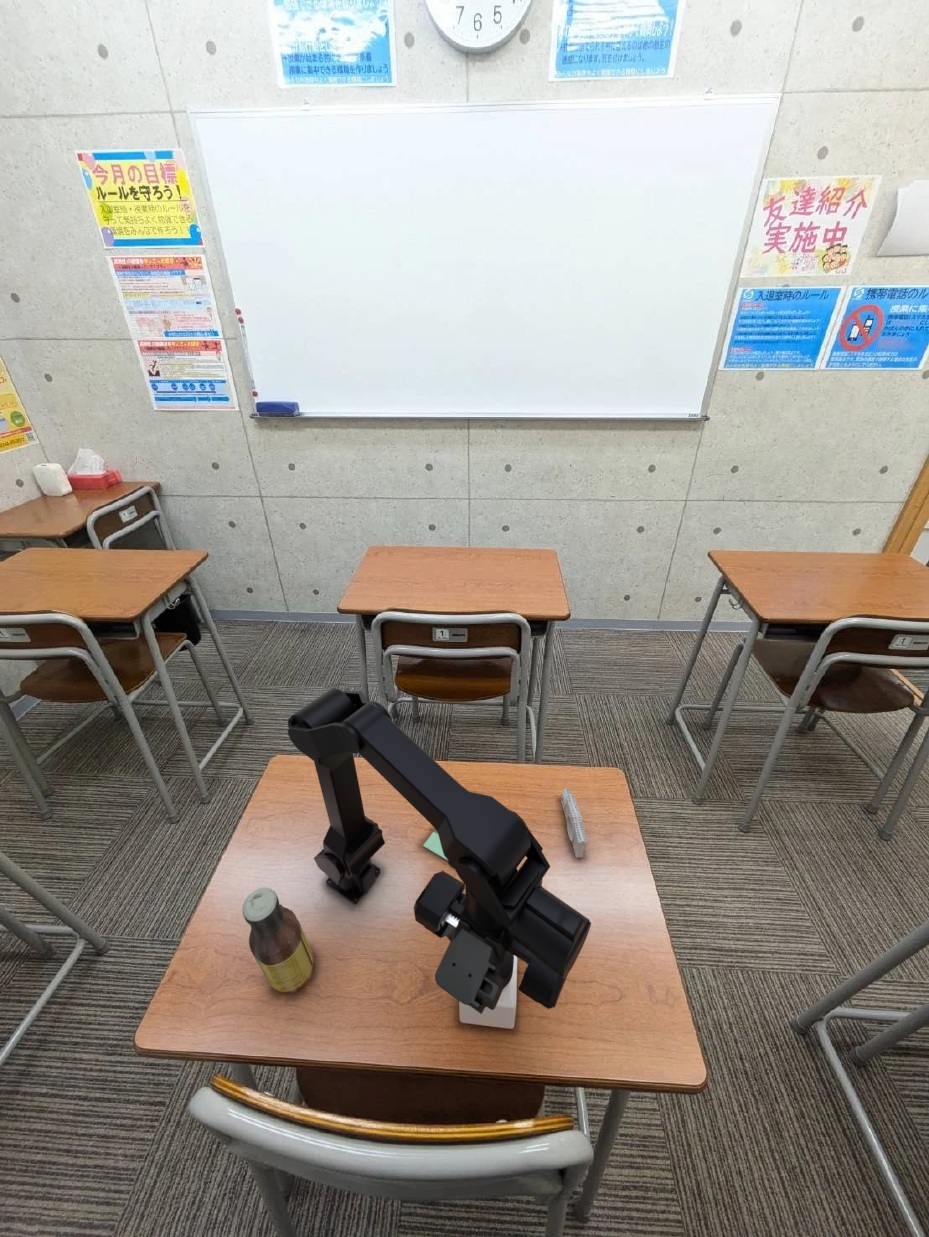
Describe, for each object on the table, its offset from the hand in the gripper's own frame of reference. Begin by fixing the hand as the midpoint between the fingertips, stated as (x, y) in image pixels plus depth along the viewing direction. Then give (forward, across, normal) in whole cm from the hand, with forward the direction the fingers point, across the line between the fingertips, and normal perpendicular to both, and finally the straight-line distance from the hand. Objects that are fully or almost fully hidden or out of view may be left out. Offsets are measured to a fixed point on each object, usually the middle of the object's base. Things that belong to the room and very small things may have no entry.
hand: (489, 965), depth 65 cm
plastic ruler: (+9, -13, +15) cm, 22 cm away
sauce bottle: (+9, -25, -12) cm, 29 cm away
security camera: (+9, 0, 0) cm, 9 cm away
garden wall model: (+9, 0, +30) cm, 31 cm away
